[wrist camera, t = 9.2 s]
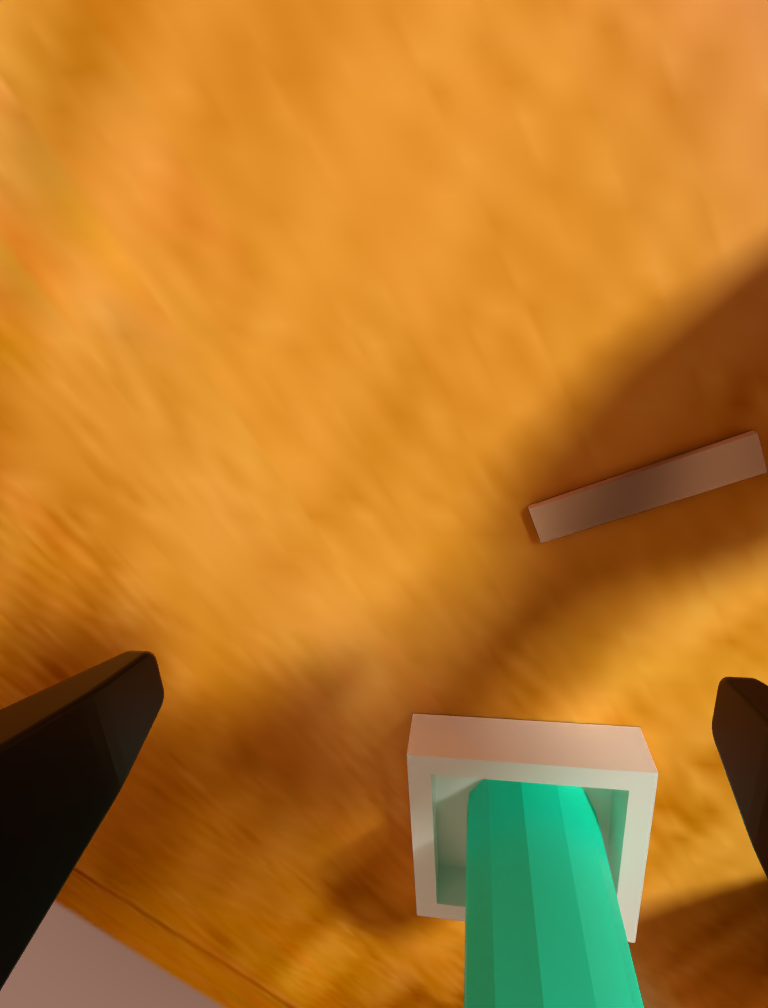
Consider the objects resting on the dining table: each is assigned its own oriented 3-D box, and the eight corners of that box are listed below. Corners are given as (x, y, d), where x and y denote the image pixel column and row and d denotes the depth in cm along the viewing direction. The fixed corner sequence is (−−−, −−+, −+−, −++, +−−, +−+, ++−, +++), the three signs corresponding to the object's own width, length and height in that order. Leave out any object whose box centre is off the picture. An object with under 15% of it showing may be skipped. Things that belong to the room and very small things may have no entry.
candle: (520, 877, 26) (553, 1289, 15) (440, 801, 26) (413, 1178, 14) (623, 829, 24) (751, 1265, 13) (540, 745, 23) (600, 1133, 12)
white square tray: (639, 727, 23) (664, 788, 20) (619, 898, 27) (638, 972, 24) (412, 713, 25) (404, 767, 22) (422, 876, 28) (416, 942, 25)
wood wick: (752, 430, 18) (758, 433, 18) (761, 469, 19) (767, 472, 18) (527, 506, 21) (528, 509, 20) (540, 539, 21) (541, 543, 21)
